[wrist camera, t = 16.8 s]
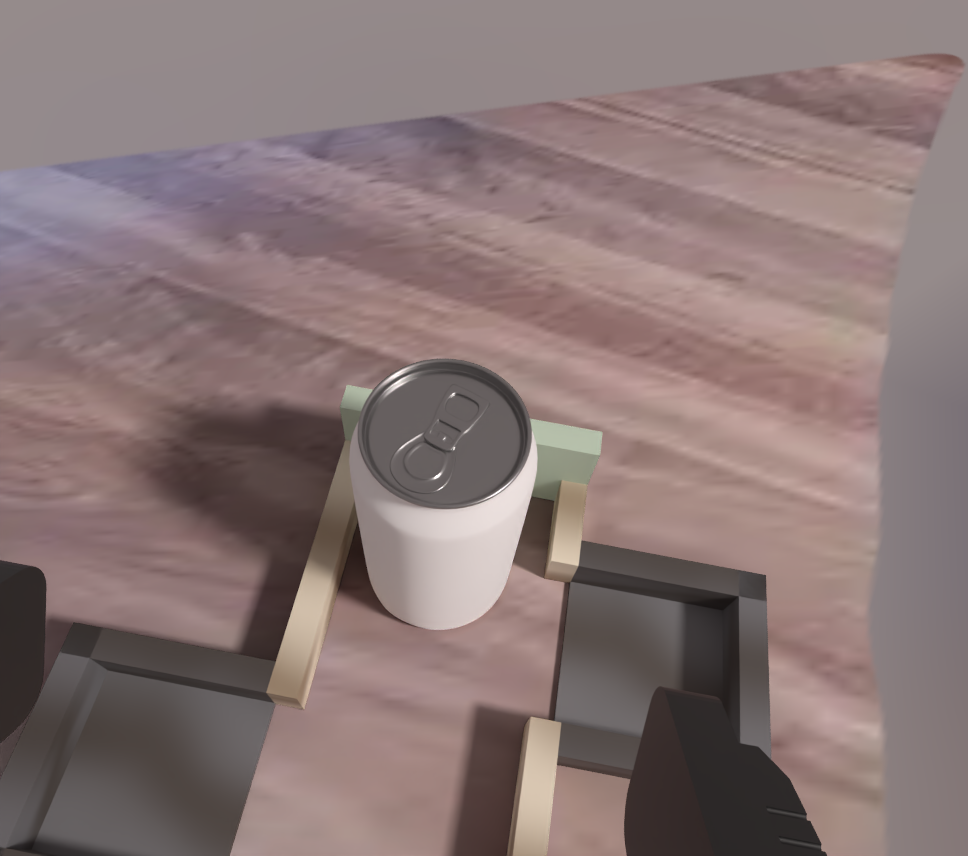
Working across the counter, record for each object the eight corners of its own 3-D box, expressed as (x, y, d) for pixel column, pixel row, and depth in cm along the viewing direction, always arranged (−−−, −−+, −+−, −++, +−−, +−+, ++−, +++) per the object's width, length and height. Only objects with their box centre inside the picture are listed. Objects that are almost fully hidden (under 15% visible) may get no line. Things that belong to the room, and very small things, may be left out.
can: (339, 588, 33) (302, 459, 23) (415, 476, 36) (412, 319, 26) (465, 661, 32) (485, 558, 22) (533, 539, 35) (578, 400, 25)
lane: (756, 1165, 24) (783, 1189, 22) (-66, 994, 25) (-105, 1004, 23) (745, 514, 37) (763, 494, 35) (195, 411, 37) (183, 387, 36)
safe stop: (578, 505, 36) (599, 455, 32) (349, 462, 37) (339, 407, 32) (581, 483, 37) (602, 431, 33) (355, 441, 37) (347, 384, 33)
